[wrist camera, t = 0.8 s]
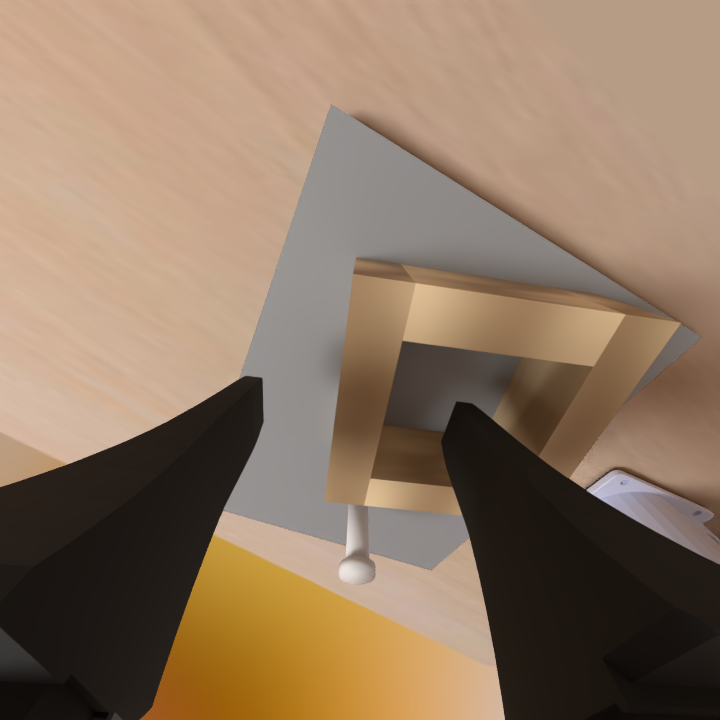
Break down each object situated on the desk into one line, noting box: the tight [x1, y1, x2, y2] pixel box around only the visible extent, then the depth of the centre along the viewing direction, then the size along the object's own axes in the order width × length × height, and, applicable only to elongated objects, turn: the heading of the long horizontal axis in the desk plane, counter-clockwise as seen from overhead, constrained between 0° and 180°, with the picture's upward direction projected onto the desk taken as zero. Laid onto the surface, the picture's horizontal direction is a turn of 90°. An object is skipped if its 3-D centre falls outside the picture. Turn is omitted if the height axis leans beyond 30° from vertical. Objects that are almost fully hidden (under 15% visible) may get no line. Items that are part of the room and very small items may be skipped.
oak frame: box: [324, 258, 681, 515], centre depth 12 cm, size 10×10×4 cm
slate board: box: [223, 104, 701, 585], centre depth 14 cm, size 18×22×6 cm
